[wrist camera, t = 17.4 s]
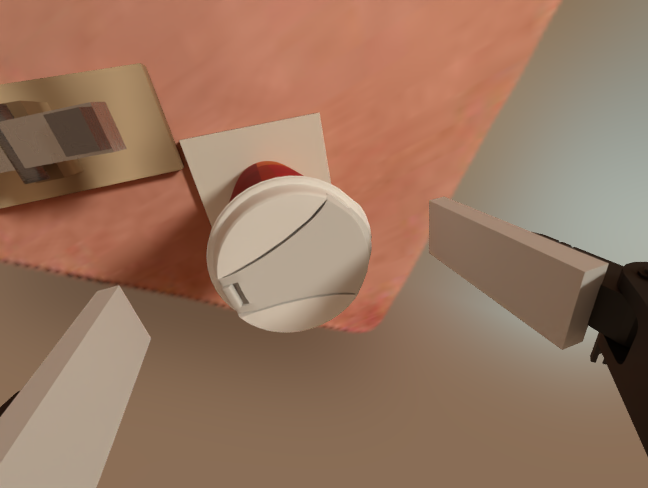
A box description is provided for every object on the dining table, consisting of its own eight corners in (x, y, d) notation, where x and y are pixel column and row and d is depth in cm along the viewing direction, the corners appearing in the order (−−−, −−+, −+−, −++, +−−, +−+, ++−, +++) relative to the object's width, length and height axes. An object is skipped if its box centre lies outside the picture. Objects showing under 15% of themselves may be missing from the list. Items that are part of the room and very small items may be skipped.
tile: (226, 261, 27) (226, 265, 26) (181, 139, 22) (179, 140, 22) (336, 231, 29) (339, 234, 28) (317, 112, 24) (319, 112, 23)
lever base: (-16, 209, 21) (-66, 228, 17) (-95, 103, 18) (-174, 100, 14) (184, 167, 23) (174, 175, 20) (145, 65, 20) (126, 55, 17)
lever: (-34, 192, 18) (-74, 202, 17) (-84, 126, 17) (-134, 129, 15) (134, 162, 17) (110, 170, 15) (98, 84, 15) (66, 83, 13)
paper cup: (245, 247, 26) (251, 365, 14) (204, 166, 23) (163, 227, 10) (324, 215, 27) (396, 299, 15) (296, 132, 23) (360, 151, 11)
